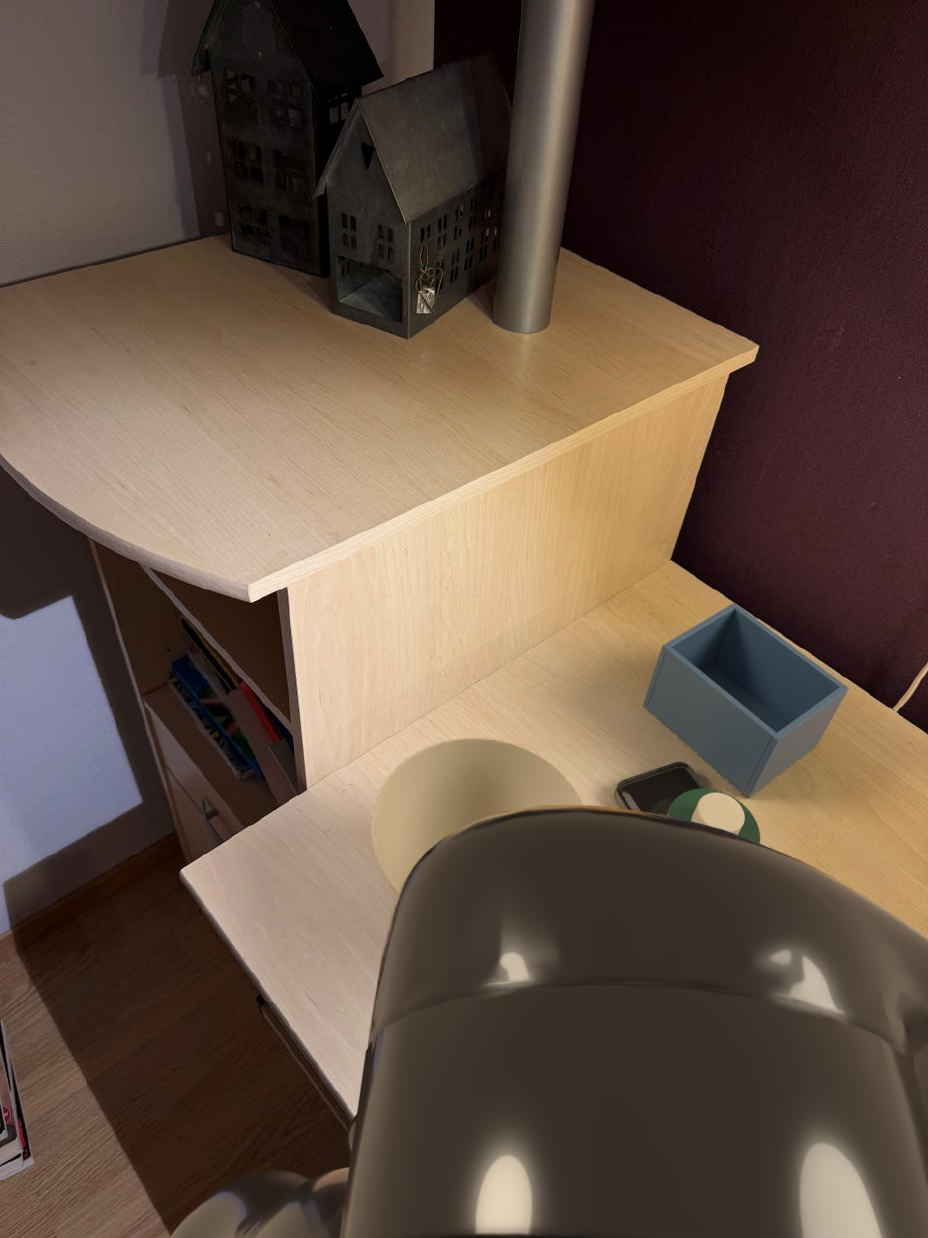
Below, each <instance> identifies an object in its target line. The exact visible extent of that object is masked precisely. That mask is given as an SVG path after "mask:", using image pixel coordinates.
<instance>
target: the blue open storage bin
mask: <svg viewBox="0 0 928 1238" xmlns="http://www.w3.org/2000/svg"><path fill="white" fill-rule="evenodd" d="M658 654H659V655H658V658H657V661H656V664H655V667H654V669H653V673H652V675H651V679H650V682H649V684H648V687H647V691H646V694H645V698H644V700H643V703H642V706H643V708H644V709H646V710H647V711H648V712H649V713H650V714H651V715H652V716H654V717H655V718H656V719H657V720H658V721H659V722H661V723H662V724H663V725H664V726H665V727H666V728H667V729H668V730H669V731H671V732H672V733H673V734H674V735H675V736H676V737H678V738H679V739H680V740H681V741H682V742H683V743H684V744H685V745H687V747H689V748H690V749H691V750H692V751H693V752H694V753H695V754H697V756H699V757H700V758H701V759H702V760H703V761H705V762H706V763H707V764H708V765H709V766H710V767H711V768H712V769H714V770H715V771H716V772H717V773H718V774H719V775H721V776H722V777H723V778H724V779H725V780H726V781H727V782H729V783H730V784H731V785H732V786H733V787H734V788H735V789H736V790H738V791H739V792H740V794H742V796H744V797H745V798H747V799H751V797H753V796H755V795H756V794H757V793H758V792H759V791H760V790H762V789H763V788H764V787H766V786H767V785H769V784H770V783H771V782H772V781H774V780H775V779H776V778H777V777H779V776H780V775H781V774H783V773H784V772H785V771H787V770H788V769H789V768H790V767H792V766H793V765H794V764H796V763H797V762H799V761H800V760H801V759H802V758H804V757H805V756H806V755H807V754H809V753H810V752H811V751H813V750H814V749H815V748H817V747H818V745H819V743H820V741H821V740H822V737H823V736H824V734H825V732H826V730H827V728H828V727H829V725H830V723H831V721H832V720H833V718H834V716H835V715H836V713H837V711H838V709H839V707H840V706H841V704H842V702H843V700H844V699H845V697H846V695H847V693H848V692H849V689H850V687H848V686H847V685H846V684H844V683H843V682H841V681H840V680H839V679H837V678H836V677H835V676H834V675H832V674H831V673H830V672H828V671H827V670H826V669H824V668H822V666H820V665H819V664H817V663H816V662H815V661H813V660H812V659H811V658H810V657H808V656H806V655H805V654H804V653H802V652H801V651H800V650H799V649H797V648H796V647H795V646H793V645H792V644H790V643H789V642H788V641H786V639H784V638H782V637H781V636H779V635H778V634H777V632H774V631H773V630H772V629H770V628H769V627H768V626H766V625H765V624H764V623H762V622H761V621H760V620H758V619H757V618H756V617H754V615H752V614H750V613H749V612H748V611H746V610H745V609H744V608H742V607H741V606H739V605H738V604H737V603H735V602H733V603H731V604H730V605H728V606H726V607H724V608H723V609H721V610H720V611H718V612H715V613H714V614H713V615H710V616H709V617H708V618H706V619H705V620H703V621H701V622H699V623H698V624H696V625H695V626H693V627H691V628H689V629H687V630H686V631H684V632H683V633H681V634H679V635H677V636H676V637H674V638H673V639H671V640H669V641H667V642H666V643H663V644H662V646H661V648H660V652H659V653H658Z"/></svg>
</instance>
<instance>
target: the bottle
mask: <svg viewBox="0 0 928 1238" xmlns="http://www.w3.org/2000/svg"><path fill="white" fill-rule="evenodd" d="M667 815H669V816H673V817H677V818H681V819H685V820H688V821H692V822H696V823H700V824H704V825H708V826H712V827H715V828H719V829H723V830H726V831H728V832H731V833H734V834H736V835H739V836H742V837H744V838H747V839H749V840H752V841H754V842H757V843H759V844H761V831H760V827H759V824H758V822H757V820H756V818H755V817H754V815H753V813H752V812H751V811H750V810H749V808H748V807H747V806H746V805H745V804H743V803H742V802H741V801H740V800H739V799H737V798H735V797H734V796H732V795H730V794H729V793H726V792H723V791H720V790H717V789H711V788H707V789H694V790H690V791H687V792H685V793H683V794H681V795H680V796H678V797H677V798H676V799H675V800H674V802H673V803H672V805H671V806H670V809H669V811H668V814H667Z"/></svg>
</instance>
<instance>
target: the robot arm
mask: <svg viewBox="0 0 928 1238" xmlns="http://www.w3.org/2000/svg"><path fill="white" fill-rule="evenodd" d="M673 802H674V801H673ZM673 802H672V801H670V800H669V799H668V798H666V799H663V800H661V801H659V802H658V803H657V804H656V805H655V806H654V807H653V808H652V809H651V810H650V811H649V812H642V811H634V810H627V809H621V808H620V807H612V806H611V807H609V806H601V805H590V804H589V805H588V804H587V805H586V804H585V805H574V806H537V807H531V808H525V809H520V810H514V811H508V812H502V813H498V814H494V815H489V816H486V817H484V818H482V819H479V820H477V821H475V822H472V823H470V824H468V825H465V826H463V827H461V828H458V829H456V830H454V831H453V832H451V833H449V834H447V835H446V836H444V837H443V838H441V839H440V840H439V841H437V842H436V843H435V844H433V845H432V846H431V847H430V849H429V850H428V851H427V852H426V853H425V854H424V855H423V856H422V857H421V858H420V859H419V860H418V861H417V862H416V863H415V865H414V866H413V868H412V870H411V871H410V873H409V875H408V876H407V878H406V880H405V881H404V883H403V885H402V887H401V890H400V892H399V894H398V897H397V900H395V904H394V907H393V909H392V913H391V915H390V919H389V922H388V928H387V931H386V935H385V939H384V940H385V941H384V944H383V949H382V953H381V956H380V963H379V969H378V975H377V982H376V988H375V994H374V1001H373V1007H372V1013H371V1017H370V1018H371V1020H370V1025H369V1031H368V1040H367V1048H366V1050H365V1053H364V1060H363V1066H362V1067H363V1068H362V1076H361V1081H360V1082H361V1083H360V1089H359V1097H358V1103H357V1110H356V1114H355V1116H353V1118H352V1119H351V1122H350V1123H349V1125H348V1129H347V1132H346V1139H345V1140H346V1148H347V1153H348V1156H349V1159H350V1160H349V1166H348V1167H347V1166H346V1167H342V1168H337V1169H332V1170H329V1171H326V1172H324V1173H321V1174H319V1175H317V1176H314V1177H311V1178H308V1177H305V1176H303V1175H301V1174H299V1173H297V1172H292V1171H288V1170H283V1169H270V1170H269V1169H268V1170H262V1171H258V1172H253V1173H251V1174H248V1175H244V1176H243V1177H240V1178H237V1179H235V1180H233V1181H231V1182H229V1183H227V1184H225V1185H224V1186H222V1187H221V1188H219V1189H217V1190H215V1192H213V1193H211V1194H210V1195H209V1196H208V1197H206V1198H205V1199H204V1200H203V1201H201V1202H200V1203H199V1204H198V1205H197V1206H195V1208H194V1209H192V1210H191V1211H190V1212H189V1214H187V1215H186V1217H184V1218H183V1219H182V1221H181V1222H180V1223H179V1224H178V1226H177V1227H176V1228H175V1229H174V1231H173V1232H172V1234H170V1236H169V1238H928V937H927V936H926V935H924V934H923V933H921V932H920V931H918V930H917V929H915V928H914V927H912V926H911V925H909V924H908V923H906V922H905V921H903V919H900V918H899V917H897V916H896V915H895V914H893V913H891V912H890V911H889V910H887V909H886V908H884V907H883V906H881V905H880V904H878V903H877V902H876V901H874V900H872V899H870V898H869V897H867V896H866V895H864V894H862V893H860V892H858V891H857V890H855V889H853V888H852V887H850V886H849V885H846V884H845V883H843V882H841V881H840V880H838V879H836V878H834V877H833V876H831V875H829V874H827V873H826V872H824V871H822V870H821V869H819V868H816V867H814V866H812V865H811V864H809V863H807V862H806V861H803V860H801V859H799V858H796V857H795V856H791V855H789V854H787V853H784V852H781V851H780V850H777V849H774V848H771V847H770V846H767V845H764V844H761V843H760V844H759V843H757V842H754V841H752V840H749V839H747V838H744V837H742V836H739V835H736V834H734V833H731V832H728V831H726V830H723V829H719V828H715V827H712V826H708V825H704V824H700V823H696V822H692V821H688V820H685V819H681V818H677V817H673V816H669V815H667V814H668V811H669V809H670V806H671V805H672V803H673Z"/></svg>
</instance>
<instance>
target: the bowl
mask: <svg viewBox="0 0 928 1238" xmlns="http://www.w3.org/2000/svg"><path fill="white" fill-rule="evenodd" d="M574 805H586V804H585V803H584V800H583V799H582V796H581V795H580V793H579V791H578V790H577V789H576V787H575V785H574V784H573V782H571V780H570V779H569V778H568V777H567V776H566V774H565V773H563V771H561V770H560V768H559V767H557V766H556V765H555V764H554V763H552V762H551V761H549V760H548V759H547V758H546V757H544V756H542V755H540V754H539V753H537V752H535V751H534V750H532V749H530V748H528V747H525V746H522V745H520V744H517V743H514V742H511V741H507V740H503V739H499V738H493V737H480V736H476V737H475V736H474V737H473V736H471V737H470V736H469V737H467V736H466V737H458V738H452V739H448V740H447V739H446V740H443V741H439V742H436V743H433V744H431V745H428V746H426V747H424V748H421V749H420V750H418V751H416V752H415V753H413V754H411V755H410V756H408V757H407V758H405V760H404V761H402V762H400V764H399V765H398V766H397V767H396V768H395V769H394V770H393V771H391V773H390V774H389V776H388V777H387V778H386V780H385V781H384V783H383V784H382V785H381V787H380V790H379V792H378V794H377V796H376V799H375V802H374V805H373V808H372V814H371V821H370V823H371V825H370V832H371V833H370V834H371V835H370V836H371V842H372V848H373V851H374V855H375V858H376V862H377V863H378V867H379V869H380V871H381V873H382V875H383V878H384V880H385V882H386V884H387V886H388V889H389V891H390V892H391V894H392V896H393V898H394V900H395V901H396V900H397V897H398V894H399V892H400V890H401V887H402V885H403V883H404V881H405V880H406V878H407V876H408V875H409V873H410V871H411V870H412V868H413V866H414V865H415V863H416V862H417V861H418V860H419V859H420V858H421V857H422V856H423V855H424V854H425V853H426V852H427V851H428V850H429V849H430V847H431V846H432V845H433V844H435V843H436V842H437V841H439V840H440V839H441V838H443V837H444V836H446V835H447V834H449V833H451V832H453V831H454V830H456V829H458V828H461V827H463V826H465V825H468V824H470V823H472V822H475V821H477V820H479V819H482V818H484V817H486V816H489V815H494V814H498V813H502V812H508V811H514V810H520V809H525V808H531V807H537V806H574Z"/></svg>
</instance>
